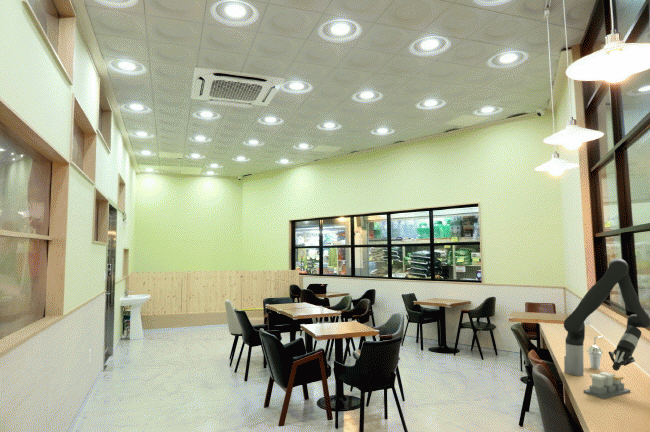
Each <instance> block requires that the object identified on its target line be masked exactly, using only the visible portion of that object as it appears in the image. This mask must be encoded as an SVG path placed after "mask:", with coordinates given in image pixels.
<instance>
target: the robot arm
mask: <svg viewBox="0 0 650 432" xmlns="http://www.w3.org/2000/svg"><path fill="white" fill-rule="evenodd" d="M629 270H630V269H629V264H628V263H627V261H626V260H624V259H622V258H620V257H615V258H612V259H611V260H610V261H609V262H608V268H607V269H606V270H605V273H604V274H603V276H602V277H601V278H600V279H599V280H598V281H597V282H595V283H594V284H593V285H592V286H591V287H590V288H589V289H588V291H587V292H586V293H585V295H584V296H583V298H582V299H581V300H580V301H579V303H578V305H577V306H576V308H575V309H574V310H573V311H572V312H571V313H570V314H569V316H567V317H566V318H565V320H564V321H563V328H564V330H565V331H566V332H567V335H566V337H565V355H564V358H563V359H564V362H563V363H564V364H563V367H564V369H563V370H564V373H565V374H568V375H572V376H578V377H581V376H584V372H585V371H584V370H585V369H584V341H585V336H586V332H585V331H586V327H585V321H586V320H587V318H589V316H590V315H591V314H593V313H594V312H596V310H598V308H599V307H601V306H602V305H603V304H604V301H606V299H607V298H608V296H610V293H612V290H613V289H614V287H616V285H617V284H618V287H619V290H620V294H621V297H622V300H623V303H624V305H625V308H626V310H627V311H628V312H630V313H633V314H631V315H629V316H628V317H627V319H626V320H627V321H626V329H625V331H624V333H623V335H622V336H621V338H620V339H619V342H618V343H617V346H616V348H615V349H614V350H613V351H610V350H609V351H608V355H609V357H610V359H611V361H612V366H611V368H612V369H613V371H616V372H617V371H619V370H620V368H621V366H624V367H627V366H628V365H630V364H632V363H634V362H635V361H636V360H635V358H634V356H633V354H634V352H635V349H636V348H637V346H638V343H639V341H640V339H641V336H642V331H641V330H640V329H639V328H641V329H642V328H643V329H648V328H649V327H650V316H649V315H648V312H646V311H645V309H644V308H643V306H642V304H641V301H640V299H639V296H638V294H637V292H636V290H635V287H634V285H633V283H632V281H631V277H630V274H629Z"/></svg>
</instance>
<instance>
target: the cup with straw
mask: <svg viewBox="0 0 650 432" xmlns="http://www.w3.org/2000/svg"><path fill="white" fill-rule="evenodd" d="M604 337H605V336H604V335H602V336H601V335H600V336H595V337H593V342H594V344H593V345H590V346H589V347H588V349H587V350H586V352H588V356H589V357H588V358H589V364H590V365H589V366H590V368H591V369H593V370H600V367H601V360H602V359H601V358H602V355H603V354H604V353H603V350H602V349H601V347H599V346H597V344H596V340H597V339H598V338H604Z"/></svg>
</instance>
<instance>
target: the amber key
mask: <svg viewBox="0 0 650 432" xmlns="http://www.w3.org/2000/svg"><path fill="white" fill-rule="evenodd" d="M622 380H624V376H621V375H617V374H615V377H613V383H614V384H621V383H622Z"/></svg>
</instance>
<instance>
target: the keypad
mask: <svg viewBox="0 0 650 432" xmlns="http://www.w3.org/2000/svg"><path fill="white" fill-rule="evenodd" d="M583 392H584V394H586V395H588V396H589V395H590V396H593V397H596V398H598V399H599V398H600V399H602V400H606V399H609V398H613V397H617V396H622V395H626V394H630V393H631V389H627V388H625V383H624V382H621V384H614V383H613V386H606V385H604V388H596V387H593V386H592V384H590V385H589V388H587V389H583Z"/></svg>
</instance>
